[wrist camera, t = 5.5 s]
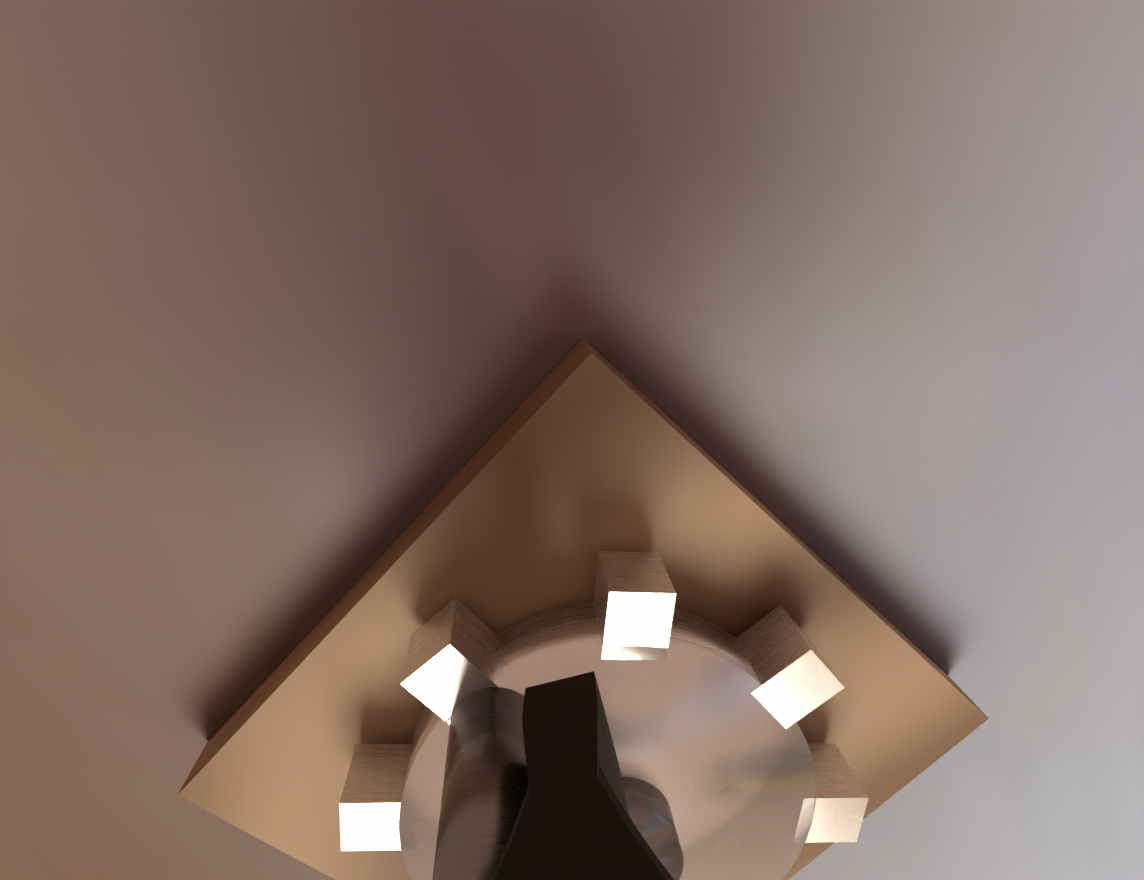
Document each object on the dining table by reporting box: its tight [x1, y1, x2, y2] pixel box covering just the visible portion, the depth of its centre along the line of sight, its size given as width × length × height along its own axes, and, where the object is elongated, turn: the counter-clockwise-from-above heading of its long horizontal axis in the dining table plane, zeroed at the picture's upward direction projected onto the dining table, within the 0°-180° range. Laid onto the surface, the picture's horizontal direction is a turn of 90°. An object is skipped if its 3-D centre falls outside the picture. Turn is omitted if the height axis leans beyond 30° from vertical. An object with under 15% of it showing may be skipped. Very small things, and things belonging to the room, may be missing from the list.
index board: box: [178, 338, 988, 880], centre depth 15 cm, size 13×13×4 cm
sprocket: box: [339, 551, 869, 880], centre depth 13 cm, size 11×11×5 cm
